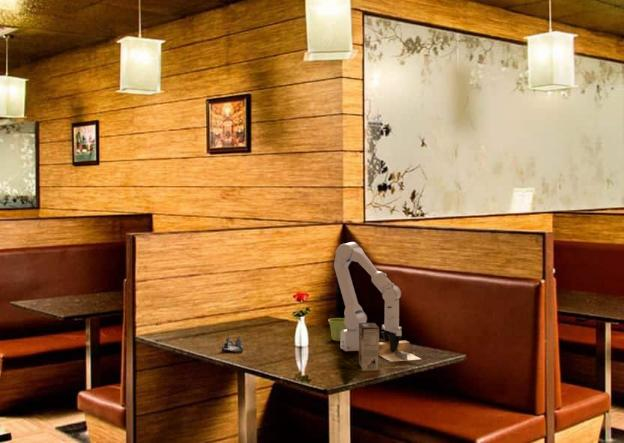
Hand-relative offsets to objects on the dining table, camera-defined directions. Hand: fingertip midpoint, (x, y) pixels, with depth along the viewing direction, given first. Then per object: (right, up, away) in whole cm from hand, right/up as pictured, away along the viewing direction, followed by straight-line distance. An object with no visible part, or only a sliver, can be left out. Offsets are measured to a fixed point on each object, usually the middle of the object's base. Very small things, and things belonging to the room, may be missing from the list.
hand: (391, 350), depth 322 cm
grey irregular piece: (-63, -2, +7) cm, 64 cm away
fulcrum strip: (+3, -2, -8) cm, 9 cm away
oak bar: (0, -1, 0) cm, 1 cm away
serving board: (+2, -2, -6) cm, 6 cm away
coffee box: (-11, -3, -21) cm, 24 cm away
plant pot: (-20, 0, +28) cm, 35 cm away
